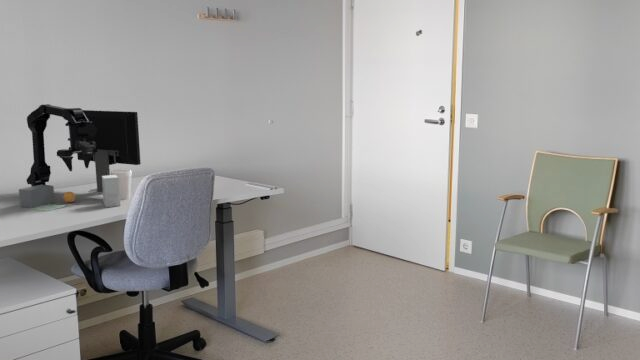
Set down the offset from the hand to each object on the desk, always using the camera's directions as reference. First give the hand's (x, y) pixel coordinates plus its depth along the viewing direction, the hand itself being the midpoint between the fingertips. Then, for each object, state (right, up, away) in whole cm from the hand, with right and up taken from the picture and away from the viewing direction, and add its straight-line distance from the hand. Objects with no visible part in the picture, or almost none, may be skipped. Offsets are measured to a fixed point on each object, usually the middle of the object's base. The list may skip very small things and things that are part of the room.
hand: (79, 169), depth 280 cm
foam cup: (+18, -14, +7) cm, 24 cm away
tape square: (-9, -17, -11) cm, 22 cm away
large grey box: (-17, -16, -4) cm, 24 cm away
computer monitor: (+6, -11, +23) cm, 26 cm away
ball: (-4, -13, -1) cm, 13 cm away
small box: (+17, -16, -7) cm, 25 cm away
